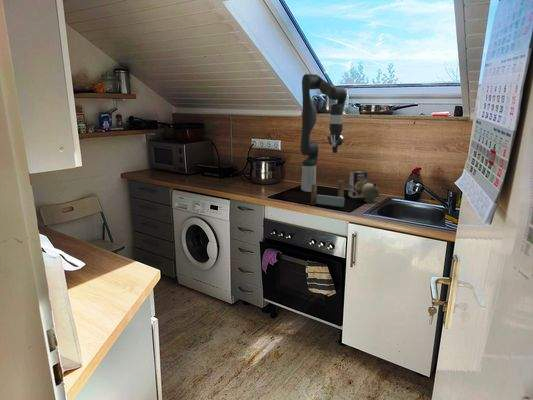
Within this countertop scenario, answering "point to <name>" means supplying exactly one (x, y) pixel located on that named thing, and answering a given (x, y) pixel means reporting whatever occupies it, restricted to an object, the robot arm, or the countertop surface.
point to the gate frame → (314, 190)
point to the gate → (330, 200)
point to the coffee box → (357, 183)
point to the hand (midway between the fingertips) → (334, 152)
